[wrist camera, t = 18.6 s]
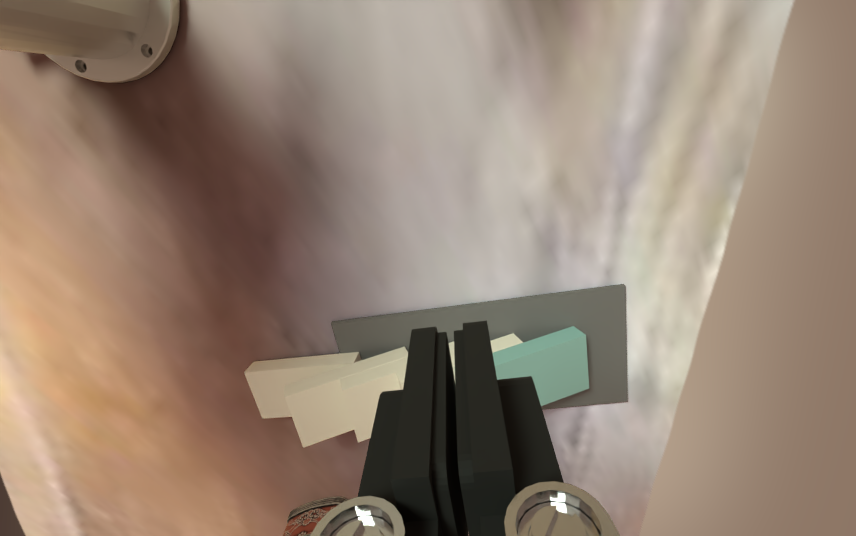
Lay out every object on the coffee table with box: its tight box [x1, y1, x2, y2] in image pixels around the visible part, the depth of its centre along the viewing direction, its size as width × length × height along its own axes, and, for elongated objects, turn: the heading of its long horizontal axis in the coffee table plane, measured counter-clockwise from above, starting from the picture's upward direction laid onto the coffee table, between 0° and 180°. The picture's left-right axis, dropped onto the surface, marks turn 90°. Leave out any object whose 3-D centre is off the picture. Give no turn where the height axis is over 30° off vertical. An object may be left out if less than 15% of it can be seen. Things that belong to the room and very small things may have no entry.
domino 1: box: [244, 352, 361, 419], centre depth 41 cm, size 2×6×11 cm
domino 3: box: [340, 341, 454, 442], centre depth 38 cm, size 2×6×11 cm
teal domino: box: [493, 326, 589, 406], centre depth 37 cm, size 2×6×11 cm
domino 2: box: [285, 346, 408, 448], centre depth 39 cm, size 2×6×11 cm
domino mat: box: [331, 284, 628, 409], centre depth 40 cm, size 26×12×1 cm, turn 100°
